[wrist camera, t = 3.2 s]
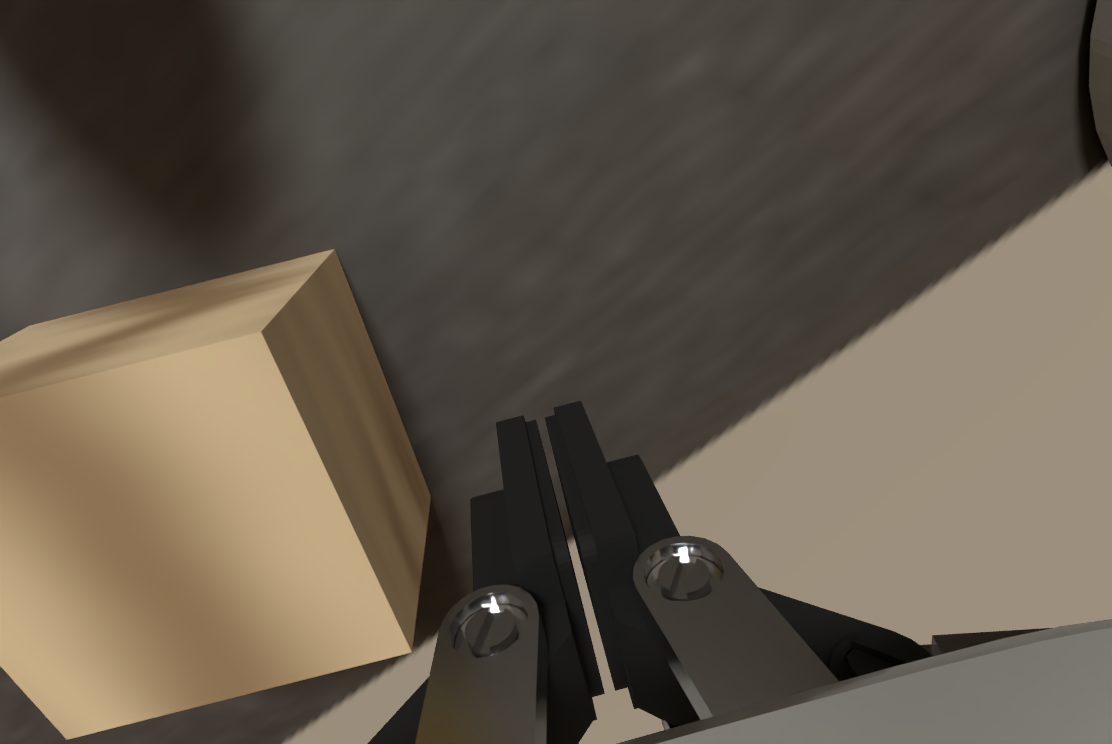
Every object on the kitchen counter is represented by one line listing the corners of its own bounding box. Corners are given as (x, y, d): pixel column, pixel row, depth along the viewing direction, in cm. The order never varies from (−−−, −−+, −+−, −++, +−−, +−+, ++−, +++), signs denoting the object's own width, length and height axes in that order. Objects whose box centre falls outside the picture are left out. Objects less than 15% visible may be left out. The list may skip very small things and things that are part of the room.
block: (335, 247, 16) (261, 331, 11) (431, 493, 19) (411, 652, 14) (33, 323, 16) (-198, 446, 11) (182, 556, 19) (67, 739, 14)
